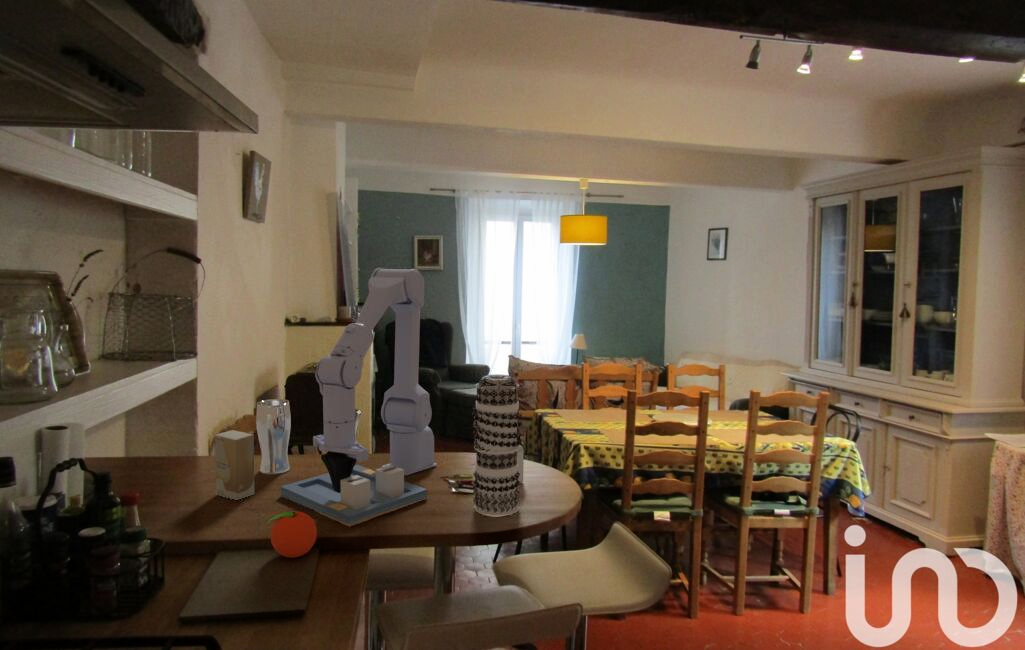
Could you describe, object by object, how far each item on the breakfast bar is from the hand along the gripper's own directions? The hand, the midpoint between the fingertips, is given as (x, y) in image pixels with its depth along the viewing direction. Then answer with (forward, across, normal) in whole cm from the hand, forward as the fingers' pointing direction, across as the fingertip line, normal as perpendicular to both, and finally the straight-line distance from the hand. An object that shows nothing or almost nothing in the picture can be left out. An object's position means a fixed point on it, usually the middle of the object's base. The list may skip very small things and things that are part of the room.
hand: (340, 490), depth 127 cm
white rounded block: (+3, +16, +30) cm, 34 cm away
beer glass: (+3, -27, +3) cm, 28 cm away
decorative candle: (+3, +23, +18) cm, 29 cm away
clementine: (+3, +12, -18) cm, 21 cm away
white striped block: (+2, +5, 0) cm, 5 cm away
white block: (+2, +5, +8) cm, 9 cm away
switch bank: (+3, -1, +4) cm, 5 cm away
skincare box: (+3, -20, -10) cm, 22 cm away
